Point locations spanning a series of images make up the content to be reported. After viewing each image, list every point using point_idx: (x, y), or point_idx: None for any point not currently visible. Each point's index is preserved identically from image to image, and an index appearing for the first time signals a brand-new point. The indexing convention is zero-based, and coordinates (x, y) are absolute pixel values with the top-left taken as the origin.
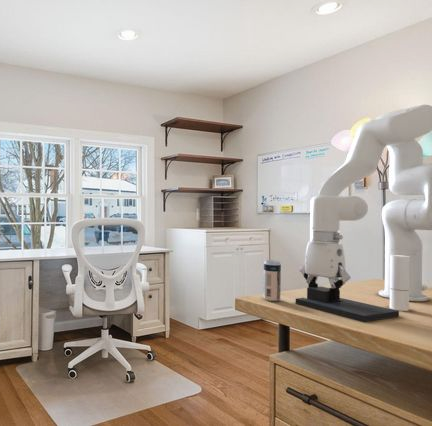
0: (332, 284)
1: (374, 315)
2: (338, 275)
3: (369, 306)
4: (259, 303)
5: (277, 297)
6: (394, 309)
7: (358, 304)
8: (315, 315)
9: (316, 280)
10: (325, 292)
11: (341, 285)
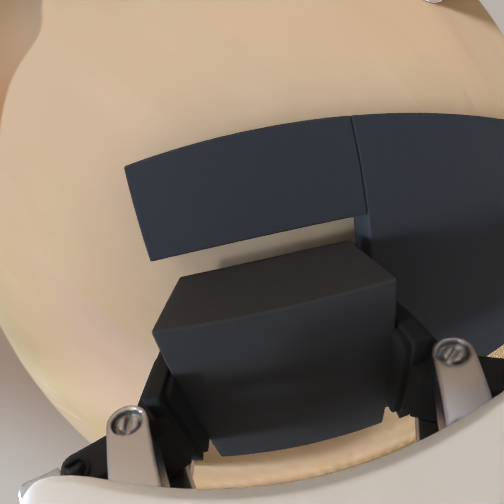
0: (434, 429)
1: None
2: (499, 419)
3: (488, 176)
4: (218, 484)
5: (189, 465)
6: (429, 1)
7: (454, 197)
8: (401, 425)
9: (150, 434)
10: (378, 417)
11: (485, 369)
